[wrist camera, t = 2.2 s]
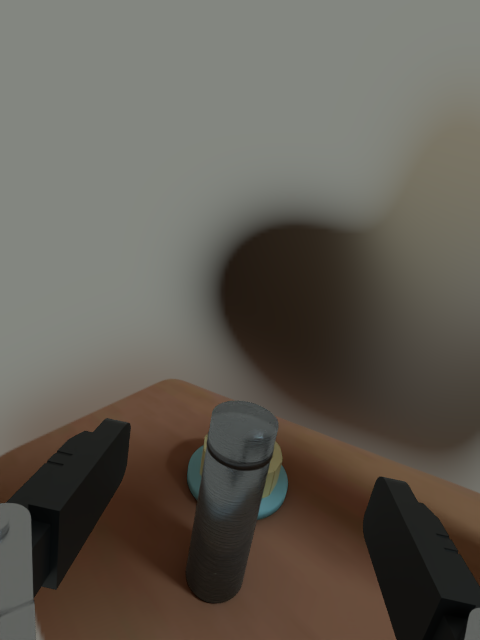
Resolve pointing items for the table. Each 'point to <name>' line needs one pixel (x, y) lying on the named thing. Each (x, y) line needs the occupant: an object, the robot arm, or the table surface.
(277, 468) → the ring collar
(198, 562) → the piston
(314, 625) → the table surface
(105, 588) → the table surface
